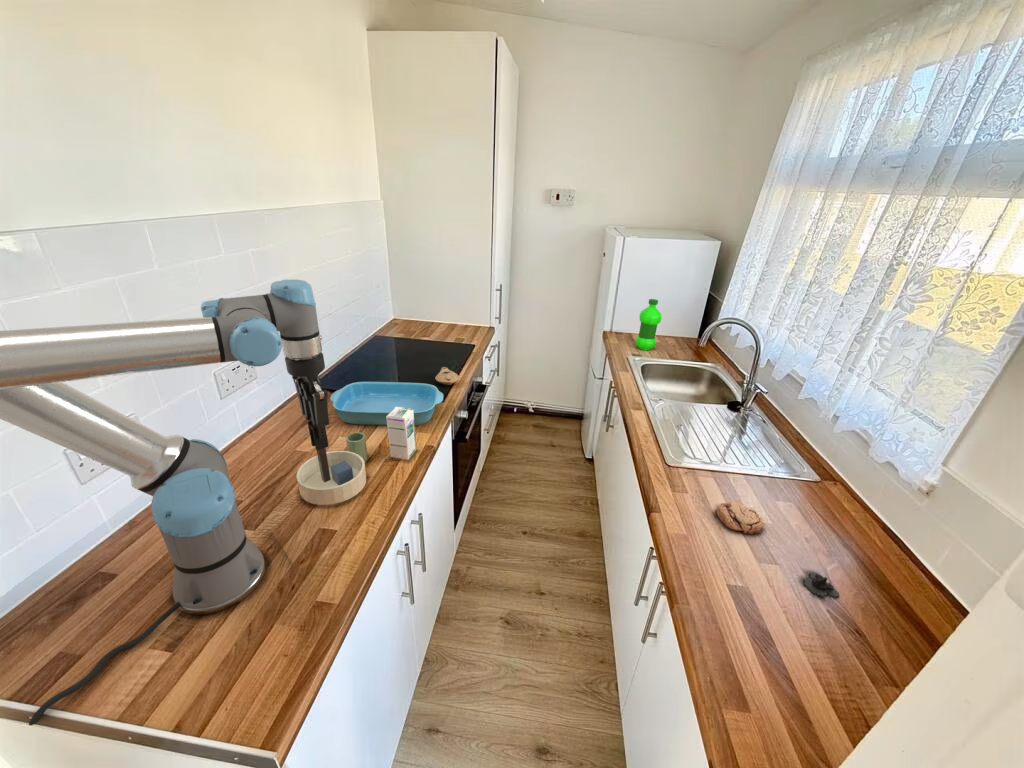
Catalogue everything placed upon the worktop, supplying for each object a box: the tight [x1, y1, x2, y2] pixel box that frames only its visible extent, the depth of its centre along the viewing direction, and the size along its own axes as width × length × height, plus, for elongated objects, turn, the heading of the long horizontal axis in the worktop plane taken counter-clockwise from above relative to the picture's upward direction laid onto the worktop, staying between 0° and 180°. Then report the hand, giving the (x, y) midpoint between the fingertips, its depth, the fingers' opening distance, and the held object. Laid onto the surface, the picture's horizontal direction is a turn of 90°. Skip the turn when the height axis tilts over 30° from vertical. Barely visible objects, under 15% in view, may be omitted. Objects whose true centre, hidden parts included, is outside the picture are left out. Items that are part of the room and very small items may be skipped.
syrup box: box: [386, 407, 417, 461], centre depth 123 cm, size 6×6×14 cm
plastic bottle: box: [635, 298, 663, 351], centre depth 212 cm, size 10×10×25 cm
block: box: [330, 461, 353, 485], centre depth 113 cm, size 4×4×4 cm
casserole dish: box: [329, 381, 444, 426], centre depth 146 cm, size 37×22×7 cm, turn 94°
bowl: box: [296, 450, 367, 506], centre depth 112 cm, size 16×16×6 cm
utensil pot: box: [345, 431, 368, 462], centre depth 121 cm, size 5×5×8 cm
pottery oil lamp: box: [434, 366, 460, 386], centre depth 171 cm, size 9×12×7 cm
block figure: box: [802, 571, 840, 599], centre depth 91 cm, size 6×2×6 cm
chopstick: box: [310, 417, 331, 482], centre depth 103 cm, size 2×2×18 cm
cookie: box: [716, 500, 764, 535], centre depth 108 cm, size 10×11×3 cm
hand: (320, 445), depth 102 cm, fingers closed on chopstick, 2 cm apart
